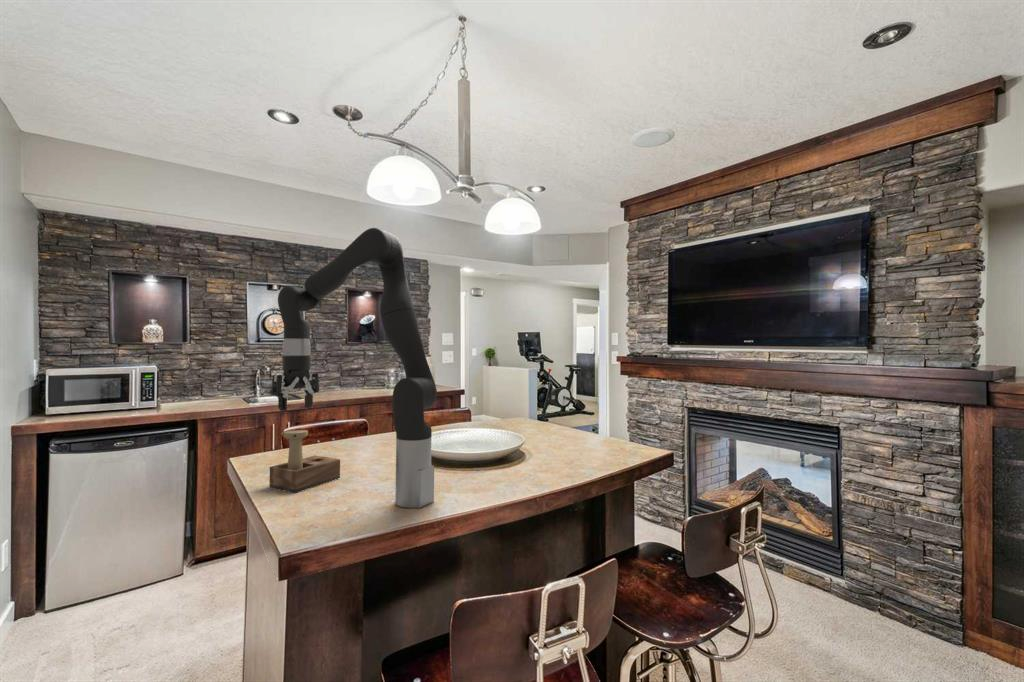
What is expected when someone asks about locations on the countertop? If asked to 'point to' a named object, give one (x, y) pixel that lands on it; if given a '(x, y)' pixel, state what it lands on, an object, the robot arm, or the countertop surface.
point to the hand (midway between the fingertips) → (296, 409)
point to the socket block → (305, 474)
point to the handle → (295, 448)
